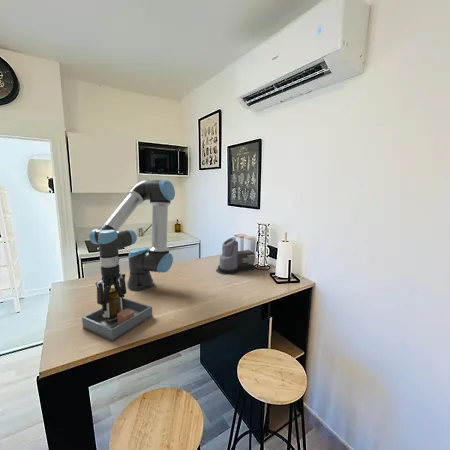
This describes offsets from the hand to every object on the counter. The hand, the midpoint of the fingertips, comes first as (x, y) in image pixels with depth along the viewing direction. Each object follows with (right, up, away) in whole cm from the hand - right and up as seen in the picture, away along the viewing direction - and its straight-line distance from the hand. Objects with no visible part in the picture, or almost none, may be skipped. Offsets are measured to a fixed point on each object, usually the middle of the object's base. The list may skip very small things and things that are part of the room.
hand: (113, 313), depth 113 cm
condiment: (0, -1, 0) cm, 1 cm away
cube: (+7, -3, -4) cm, 9 cm away
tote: (+3, -4, -1) cm, 5 cm away
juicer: (+59, +7, +69) cm, 91 cm away
